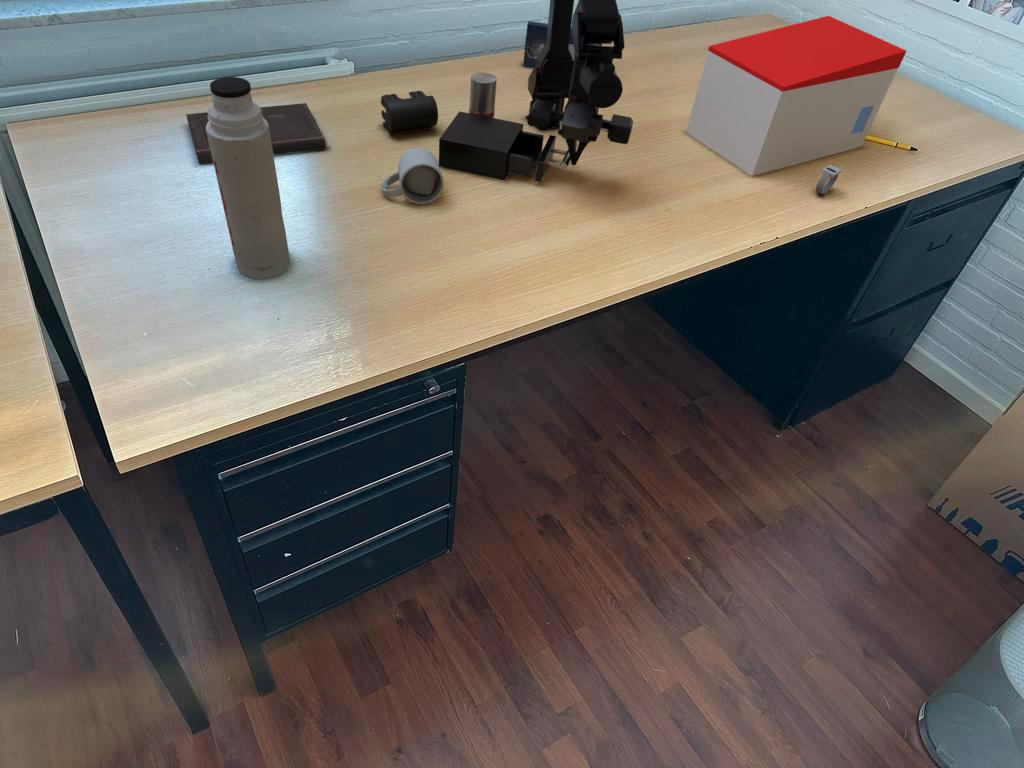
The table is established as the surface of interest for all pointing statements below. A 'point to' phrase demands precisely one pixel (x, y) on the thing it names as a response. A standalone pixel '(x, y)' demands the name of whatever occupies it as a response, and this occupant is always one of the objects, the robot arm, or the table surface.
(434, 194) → the ceramic mug
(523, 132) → the drawer
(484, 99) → the grey metal cylinder
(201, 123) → the hardcover book
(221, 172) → the thermos bottle
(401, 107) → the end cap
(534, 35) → the vhs cassette tape
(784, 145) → the bookstore
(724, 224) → the table surface
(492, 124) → the cabinet
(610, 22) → the robot arm
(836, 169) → the wristwatch
